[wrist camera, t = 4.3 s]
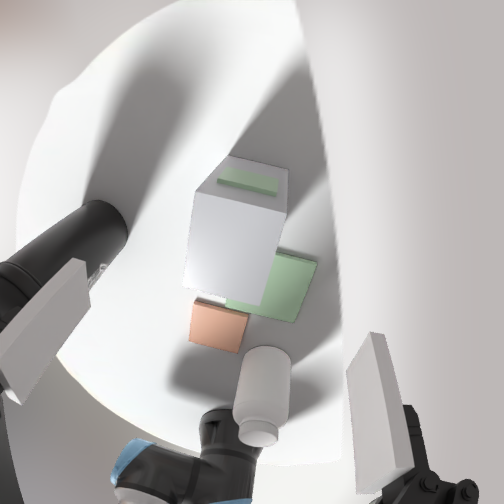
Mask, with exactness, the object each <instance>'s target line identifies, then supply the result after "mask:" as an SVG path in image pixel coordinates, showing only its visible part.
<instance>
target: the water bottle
mask: <svg viewBox="0 0 504 504" xmlns="http://www.w3.org/2000/svg"><path fill="white" fill-rule="evenodd" d="M126 241H127V227H126V224H125V221H124V219H123V217H122V216H121V214H120V213H119V212H118V211H117V209H115V208H114V207H113V206H112V205H110V204H109V203H107V202H104V201H100V200H94V201H90V202H88V203H86V204H85V205H83V206H82V207H80V208H79V209H77V210H76V211H74V212H73V213H71V214H70V215H68V216H67V217H65V218H64V219H62V220H61V221H59V222H58V223H56V224H55V225H53V226H52V227H51V228H49V229H48V230H46V231H45V232H44V233H42V234H41V235H39V236H38V237H37V238H35V239H34V240H32V241H31V242H30V243H28V244H27V245H26V246H24V247H23V248H22V249H21V250H19V251H18V252H17V253H15V254H14V255H13V256H11V257H10V258H9V259H8V260H6V261H4V262H1V263H0V321H1V318H2V317H3V316H4V315H5V314H6V313H7V312H8V311H10V310H11V309H13V308H15V307H17V306H19V307H21V308H23V307H24V306H25V305H26V304H27V303H28V302H29V301H30V300H31V299H32V298H33V297H34V296H35V295H36V294H37V293H38V291H39V290H40V289H41V288H42V287H43V286H44V285H45V284H46V283H47V282H48V281H49V280H50V279H51V278H52V277H53V276H54V275H55V274H56V273H57V272H58V271H59V270H60V269H61V268H62V267H63V266H64V265H65V264H66V263H68V262H69V261H70V260H71V259H72V258H76V259H79V260H82V261H85V262H86V271H87V281H88V289H89V291H90V289H91V287H93V286H94V284H95V283H96V281H97V280H98V279H99V277H101V275H102V274H103V273H104V271H105V270H106V269H107V267H108V266H109V265H110V263H111V262H112V261H113V260H114V258H115V257H116V256H117V255H118V254H119V252H120V251H121V250H122V249H123V247H124V246H125V244H126Z"/></svg>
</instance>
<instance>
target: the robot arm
mask: <svg viewBox="0 0 504 504" xmlns="http://www.w3.org/2000/svg"><path fill="white" fill-rule="evenodd" d="M90 307H91V305H90V297H89V289H88V281H87V271H86V262H85V261H82V260H79V259H76V258H72V259H71V260H70V261H69V262H68V263H66V264H65V265H64V266H63V267H62V268H61V269H60V270H59V271H58V272H57V273H56V274H55V275H54V276H53V277H52V278H51V279H50V280H49V281H48V282H47V283H46V284H45V285H44V286H43V287H42V288H41V289H40V290H39V291H38V293H37V294H36V295H35V296H34V297H33V298H32V299H31V300H30V301H29V302H28V303H27V304H26V305H25V306H24V307H23V308H21V307H19V306H17V307H15V308H13V309H11V310H10V311H8V312H7V313H6V314H5V315H4V316H3V317H2V318H1V321H0V504H24V501H23V498H22V495H21V492H20V488H19V484H18V481H17V477H16V473H15V469H14V465H13V460H12V456H11V451H10V446H9V440H8V435H7V429H6V422H5V415H4V407H3V399H2V396H1V393H2V392H3V390H5V392H6V394H7V395H8V397H9V398H10V399H12V400H14V401H15V402H17V403H19V404H20V405H23V404H24V402H25V400H26V399H27V397H28V396H29V394H30V393H31V391H32V389H33V388H34V386H35V385H36V383H37V382H38V380H39V379H40V377H41V376H42V374H43V373H44V371H45V370H46V368H47V367H48V365H49V364H50V362H51V361H52V360H53V358H54V357H55V355H56V354H57V352H58V351H59V349H60V348H61V347H62V345H63V344H64V342H65V341H66V340H67V338H68V337H69V336H70V334H71V333H72V331H73V330H74V329H75V327H76V326H77V325H78V323H79V322H80V321H81V319H82V318H83V317H84V315H85V314H86V313H87V311H88V310H89V309H90ZM346 375H347V384H348V392H349V402H350V411H351V422H352V432H353V445H354V460H355V476H356V494H374V493H376V492H377V491H379V490H381V489H382V496H380V497H378V498H377V499H375V500H373V501H372V502H371V503H369V504H374V503H375V504H478V498H479V490H478V487H477V485H476V483H475V482H474V481H472V480H471V479H465V480H462V481H460V482H459V483H457V484H454V483H450V482H445V481H442V480H440V478H439V476H438V475H437V474H436V473H435V472H433V471H431V470H430V468H429V465H428V460H427V455H426V450H425V445H424V440H423V437H422V431H421V428H420V423H419V418H418V415H417V413H416V412H415V410H414V408H413V407H412V405H402V400H401V396H400V392H399V388H398V384H397V380H396V376H395V372H394V368H393V364H392V360H391V356H390V353H389V349H388V346H387V342H386V338H385V335H384V334H379V333H374V332H369V334H368V336H367V338H366V339H365V341H364V342H363V344H362V346H361V347H360V349H359V351H358V352H357V354H356V356H355V357H354V359H353V361H352V362H351V364H350V366H349V367H348V368H347V370H346ZM239 429H240V428H239V425H238V424H237V423H236V422H235V420H234V418H233V410H216V411H211V412H208V413H206V414H204V415H203V416H202V418H201V421H200V425H199V433H200V441H201V449H202V451H201V455H200V458H197V457H194V456H190V455H187V454H184V453H181V452H178V451H175V450H172V449H169V448H166V447H163V446H161V445H158V444H157V443H155V442H149V441H146V440H143V439H140V438H135V439H133V440H131V441H130V442H129V443H128V444H127V445H126V446H125V448H124V449H123V451H122V452H121V454H120V456H119V457H118V460H117V461H116V464H115V467H114V469H113V470H112V473H111V477H110V480H111V482H112V483H113V484H114V485H116V487H115V490H114V493H115V495H116V497H117V498H118V500H119V503H118V504H251V502H252V493H253V485H254V477H255V470H256V462H257V459H258V457H259V455H260V453H261V451H262V449H263V447H254V446H249V445H247V444H244V443H243V442H241V441H240V439H239V437H238V435H239Z"/></svg>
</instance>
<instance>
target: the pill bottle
mask: <svg viewBox="0 0 504 504" xmlns="http://www.w3.org/2000/svg"><path fill="white" fill-rule="evenodd" d="M290 381H291V361H290V358H289V356H288V355H287V354H286V353H285V352H284V351H282V350H281V349H278V348H276V347H272V346H259V347H255V348H253V349H251V350H249V351H248V352H247V353H246V354H245V356H244V358H243V361H242V366H241V371H240V376H239V381H238V386H237V391H236V396H235V401H234V406H233V418H234V420H235V422H236V423H237V424H238V425H239V428H240V429H239V435H238V437H239V439H240V441H241V442H243V443H244V444H247V445H249V446H254V447H268V446H271V445H274V444H275V443H276V442H277V441H278V430H279V429H280V428H282V427H283V426H284V425H285V424H286V422H287V420H288V416H289V400H290Z"/></svg>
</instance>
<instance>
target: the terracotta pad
mask: <svg viewBox="0 0 504 504" xmlns="http://www.w3.org/2000/svg"><path fill="white" fill-rule="evenodd" d="M248 315H249V314H245V313H241V312H237V311H233V310H229V309H225V308H221V307H217V306H213V305H209V304H206V303H202V302H198V301H194V304H193V310H192V318H191V326H190V334H189V341H190V342H194V343H198V344H201V345H205V346H209V347H213V348H217V349H221V350H225V351H229V352H233V353H237V354H238V350H239V347H240V343H241V340H242V337H243V333H244V330H245V326H246V323H247V319H248Z"/></svg>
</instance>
